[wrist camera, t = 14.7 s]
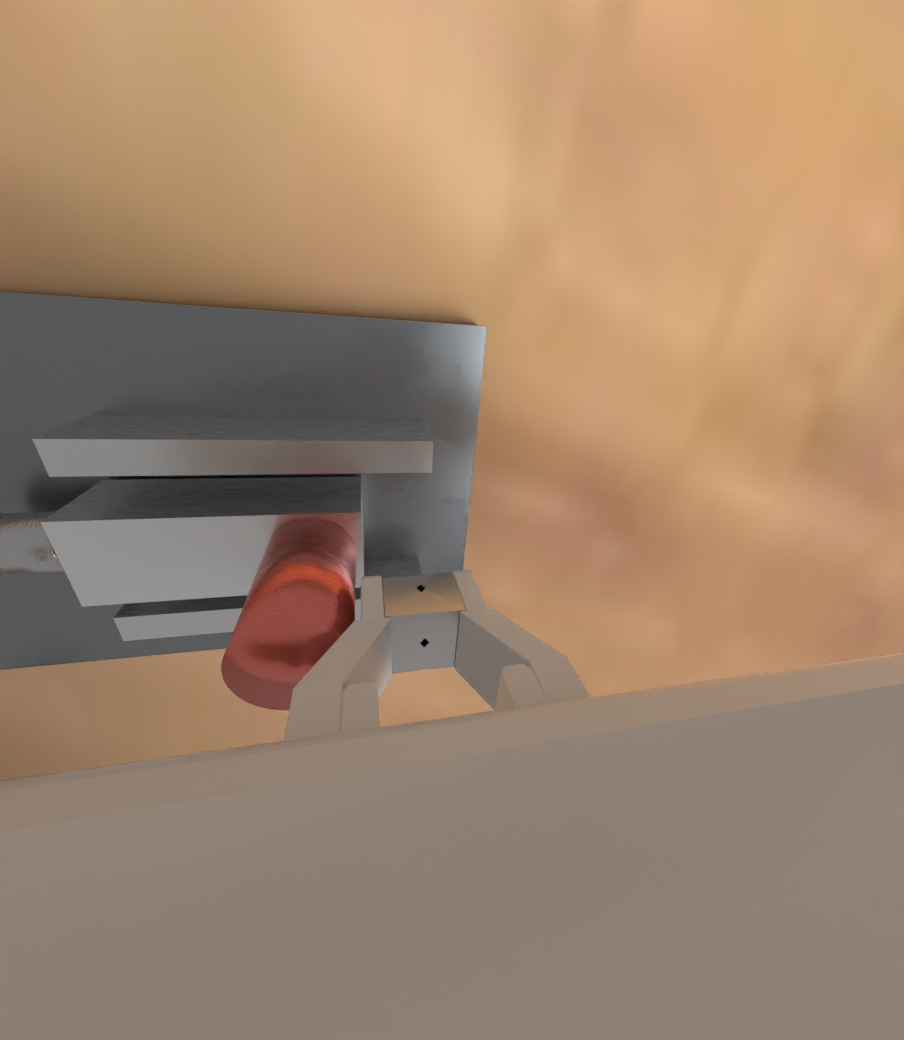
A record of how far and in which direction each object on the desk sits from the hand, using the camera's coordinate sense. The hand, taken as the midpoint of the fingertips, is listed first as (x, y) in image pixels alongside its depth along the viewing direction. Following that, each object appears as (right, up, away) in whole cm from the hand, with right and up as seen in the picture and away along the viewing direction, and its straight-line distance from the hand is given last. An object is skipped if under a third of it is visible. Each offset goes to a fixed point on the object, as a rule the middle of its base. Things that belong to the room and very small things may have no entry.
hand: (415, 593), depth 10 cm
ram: (-8, +2, +3) cm, 9 cm away
